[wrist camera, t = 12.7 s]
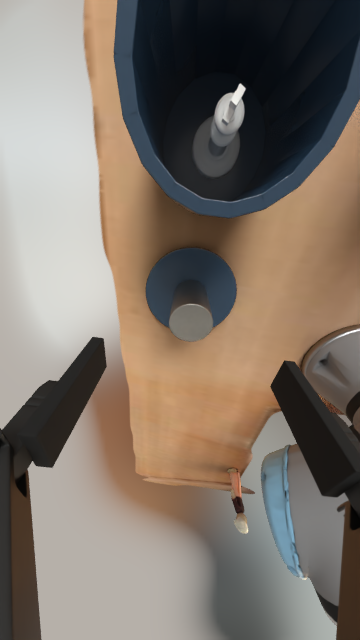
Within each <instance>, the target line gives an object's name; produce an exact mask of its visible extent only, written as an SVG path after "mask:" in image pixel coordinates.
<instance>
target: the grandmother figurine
mask: <svg viewBox="0 0 360 640" xmlns="http://www.w3.org/2000/svg"><path fill="white" fill-rule="evenodd" d="M228 473H230V479H231V482H232V489H231V490H230V492H231V497H232V501H233V504H234V507H235V510H236V513H237V517H236V519H235V520H234V524H235V526H236V527H237V529H238V530H239V531H240V532H241V533H244V534H245V533H247V532H248V527H247V519H246V516H245V515H244V514H243V512H244V506H243V503H242V499H241V481H240V473H239V472H237V470H236V469H235V468H232V469H229V470H228Z"/></svg>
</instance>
